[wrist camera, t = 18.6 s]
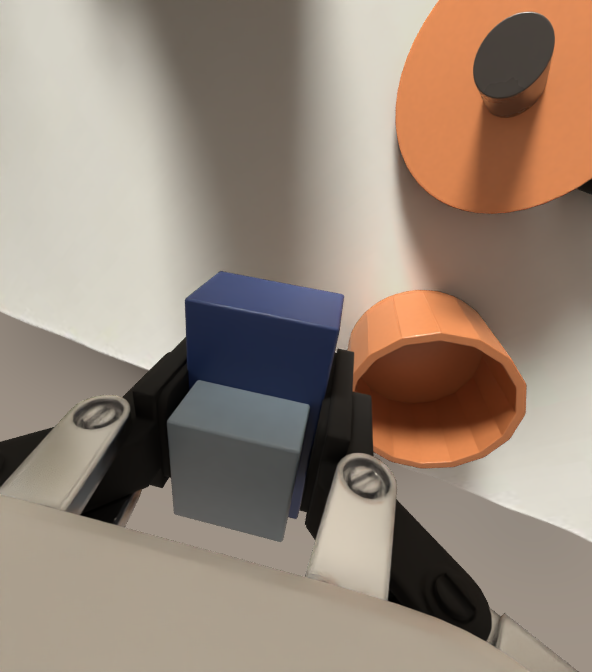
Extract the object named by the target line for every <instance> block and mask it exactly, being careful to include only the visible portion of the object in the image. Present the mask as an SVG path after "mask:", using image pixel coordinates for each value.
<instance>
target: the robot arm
mask: <svg viewBox="0 0 592 672" xmlns="http://www.w3.org/2000/svg"><path fill="white" fill-rule="evenodd" d="M353 372H354V352H352V351H347V350H342V349H338V351H337V353H334V358H333V362H332V367H331V371H330V375H329V380H328V384H327V389H326V393H325V398H324V399H323V402H322V406H321V411H320V415H319V420H318V424H317V429H316V433H315V438H314V442H313V447H312V451H311V456H310V460H309V465H308V469H307V474H306V478H305V484H304V489H303V495H302V500H301V506H300V511H304V512H307V514H306V521H305V525H306V527H307V529H308V530H309V532H310V533H311V535H312V536H313V538H314V539H315V543H314V547H313V550H312V554H311V558H310V561H309V564H308V567H307V571H306V575H305V577H303V576H300V575H296V574H292V573H289V572H285V571H281V570H278V569H274V568H271V567H267V566H264V565H260V564H256V563H252V562H249V561H245V560H242V559H238V558H235V557H231V556H228V555H224V554H220V553H217V552H213V551H209V550H206V549H202V548H198V547H194V546H191V545H187V544H183V543H180V542H176V541H173V540H169V539H165V538H162V537H158V536H154V535H151V534H147V533H143V532H139V531H136V530H132V529H128V528H125V526H126V524H127V522H128V520H129V518H130V516H131V514H132V512H133V510H134V508H135V505H136V503H137V501H138V499H139V497H140V494H141V491H142V489H144V488H146V487H148V486H149V485H152V486H156V487H160V488H163V487H164V485H165V483H166V482H167V480H168V478H169V477H170V478H171V469H170V456H169V443H168V431H167V420H168V419H169V417H170V416H171V415H172V413H173V412H174V411H175V409H176V408H177V407H178V405H179V404H180V403H181V401H182V400H183V399H184V397H185V396H186V395H187V393H188V392H189V373H188V370H187V346H186V337H185V338H184V339H183V340H182V341H181V342H180V343H179V344H178V345H177V346H176V347H175V348H174V349H173V350H172V351H171V352H168V353H167V354H166V355H165V356H164V357H162V358H161V359H160V360H159V361H158V362H157V363H156V364H155V365H154V366H153V367H152V368H151V369H150V370H149V371H148V372H147V373H146V374H145V375H144V376H143V377H142V378H141V379H140V380H139V381H138V382H137V383H136V384H135V385H134V387H132V388H131V389H130V390H129V391H128V392H127V393H126V394H125V395H124V396H123V397H120V396H116V395H100V396H95V397H91V398H89V399H86V400H84V401H82V402H80V403H78V404H76V405H75V406H74V407H73V408H72V409H71V410H70V411H69V412H68V413H67V414H66V415H65V416H64V417H63V418H62V419H61V420H60V422H59V423H58V424H57V425H56V426H55V427H52V428H49V429H46V430H42V431H38V432H34V433H31V434H28V435H24V436H20V437H16V438H13V439H9V440H5V441H2V442H0V672H578V671H577V670H576V669H575V668H573V667H572V666H571V665H570V664H568V663H567V662H566V661H565V660H563V659H562V658H561V657H560V656H558V655H557V654H556V653H554V652H553V651H552V650H551V649H549V648H548V647H547V646H546V645H544V644H543V643H542V642H541V641H539V640H538V639H537V638H536V637H534V636H533V635H532V634H531V633H529V632H528V631H527V630H526V629H524V628H523V627H522V626H520V625H519V624H518V623H517V622H515V621H514V620H513V619H512V618H510V617H509V616H508V615H507V614H505V613H504V614H503V615H502V616H499V615H498V614H497V613H496V612H495V611H493V610H492V609H491V608H490V607H489V605H488V602H487V600H486V598H485V596H484V595H483V593H482V591H481V589H480V588H479V586H478V585H477V584H476V583H475V581H474V580H473V579H472V578H471V577H470V576H469V574H467V573H466V571H465V570H464V569H463V568H462V567H461V566H460V565H459V564H458V563H457V562H456V561H455V560H454V559H453V558H452V557H451V556H450V555H449V554H448V553H447V552H446V551H445V549H444V548H443V547H442V546H441V545H440V544H439V543H438V542H437V541H436V540H435V539H434V538H433V537H432V536H431V535H430V534H429V533H428V532H427V531H426V530H425V529H424V528H423V527H422V526H421V525H420V523H419V522H418V521H416V519H415V518H414V517H413V516H412V515H411V514H410V513H409V512H408V511H407V510H406V509H405V508H404V507H403V506H402V505H401V504H400V503H399V502H398V501H397V499H396V495H397V484H396V479H395V477H394V474H393V472H392V471H391V470H390V469H389V467H388V466H387V465H386V464H385V463H383V462H382V461H381V460H380V459H378V458H375V457H374V456H373V426H372V399H371V395H367V394H362V393H358V392H353Z"/></svg>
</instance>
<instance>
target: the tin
mask: <svg viewBox="0 0 592 672" xmlns="http://www.w3.org/2000/svg"><path fill="white" fill-rule="evenodd" d="M347 351H352V352H354V372H353V392H358V393H362V394H367V395H371V399H372V426H373V452H374V453H376V454H378V455H380V456H382V457H383V458H385V459H387V460H389V461H391V462H394V463H399V464H403V465H408V466H412V467H417V468H443V467H455V466H458V465H461V464H464V463H468V462H471V461H474V460H477V459H480V458H483V457H485V456H487V455H488V454H489V453H491V452H492V451H494V450H495V449H497V448H498V447H499V446H501V445H502V444H504V443H505V442H506V441H508V440H509V439H510V438H511V436H512V435H513V433H514V432H515V430H516V428H517V427H518V425H519V424H520V422H521V420H522V419H523V417H524V416H525V413H526V388H527V386H526V383H525V381H524V380H523V378H522V376H521V374H520V373H519V371H518V369H517V368H516V366H515V364H514V362H513V361H512V359H511V358H510V356H509V355H508V354H507V352H506V351H505V349H504V348H503V347H502V345H501V344H500V343H499V341H498V340H497V338H496V337H495V336H494V334H493V333H492V332H491V330H490V329H489V327H488V326H487V325H486V323H485V322H484V321H483V319H482V318H481V316H480V315H479V314H478V312H477V311H476V310H474V309H472V308H471V307H470V306H469V305H468V304H466V303H465V302H464V301H462V300H460V299H458V298H456V297H454V296H452V295H449V294H446V293H442V292H438V291H430V290H415V291H407V292H403V293H399V294H395V295H393V296H390V297H387V298H386V299H384V300H382V301H380V302H378V303H377V304H375V305H374V306H372V307H371V308H370V309H369V310H368V311H366V312H365V313H364V314H363V316H362V317H361V318H360V319H359V320H358V322H357V323H356V325H355V327H354V329H353V330H352V333H351V336H350V339H349V345H348V350H347Z"/></svg>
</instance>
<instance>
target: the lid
mask: <svg viewBox="0 0 592 672" xmlns="http://www.w3.org/2000/svg"><path fill="white" fill-rule="evenodd" d="M396 131H397V139H398V143H399V147H400V151H401V154H402V156H403V159H404V162H405V164H406V166H407V167H408V169H409V171H410V173H411V175H412V176H413V177H414V178H415V180H416V181H417V182H418V184H419V185H420V186H421V187H422V188H423V189H424V190H425V191H426V192H428V193H429V194H430V195H432V196H433V197H434V198H436V199H437V200H439V201H441V202H443V203H445V204H447V205H449V206H451V207H454V208H457V209H460V210H464V211H469V212H475V213H488V214H495V213H509V212H514V211H520V210H525V209H528V208H532V207H535V206H538V205H542V204H544V203H547V202H549V201H552V200H554V199H557V198H559V197H561V196H563V195H565V194H567V193H569V192H571V191H573V190H574V189H576V188H578V187H580V186H582V185H583V184H585V183H586V182H588V181H589V180H591V179H592V0H439V1H438V2H437V4H436V5H435V6H434V8H433V10H432V11H431V13H430V14H429V16H428V17H427V19H426V20H425V22H424V23H423V25H422V27H421V29H420V31H419V33H418V35H417V36H416V38H415V40H414V42H413V45H412V47H411V49H410V52H409V54H408V56H407V59H406V62H405V65H404V68H403V71H402V74H401V79H400V83H399V88H398V93H397V101H396Z"/></svg>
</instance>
